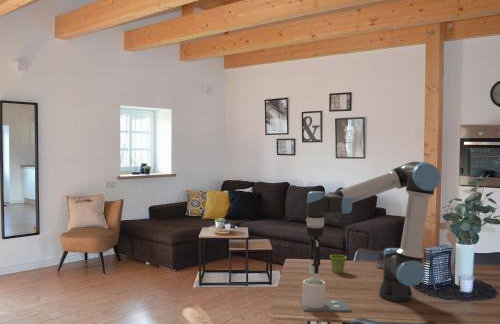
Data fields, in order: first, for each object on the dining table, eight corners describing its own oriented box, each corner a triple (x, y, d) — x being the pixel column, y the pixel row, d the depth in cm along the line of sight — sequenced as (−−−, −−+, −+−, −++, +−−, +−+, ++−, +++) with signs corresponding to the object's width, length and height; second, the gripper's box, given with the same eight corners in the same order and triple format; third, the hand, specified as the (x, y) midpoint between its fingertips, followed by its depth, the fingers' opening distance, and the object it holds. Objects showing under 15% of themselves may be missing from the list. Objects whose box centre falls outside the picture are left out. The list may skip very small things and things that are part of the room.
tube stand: (344, 301, 213) (344, 278, 213) (350, 311, 200) (351, 286, 200) (300, 300, 213) (300, 277, 212) (304, 311, 200) (304, 286, 199)
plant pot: (348, 271, 264) (349, 256, 264) (342, 275, 256) (343, 259, 256) (333, 268, 269) (333, 253, 269) (326, 272, 261) (327, 257, 261)
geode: (388, 271, 265) (386, 254, 266) (372, 270, 274) (370, 253, 275) (409, 265, 278) (407, 248, 278) (392, 263, 287) (390, 247, 287)
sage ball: (319, 288, 209) (318, 275, 209) (321, 292, 203) (320, 278, 203) (306, 289, 209) (305, 276, 209) (307, 293, 203) (306, 280, 203)
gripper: (303, 222, 216) (302, 270, 217) (310, 231, 194) (309, 284, 195) (319, 222, 216) (318, 270, 217) (328, 231, 194) (326, 284, 195)
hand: (314, 277), depth 206 cm, fingers open, 9 cm apart
